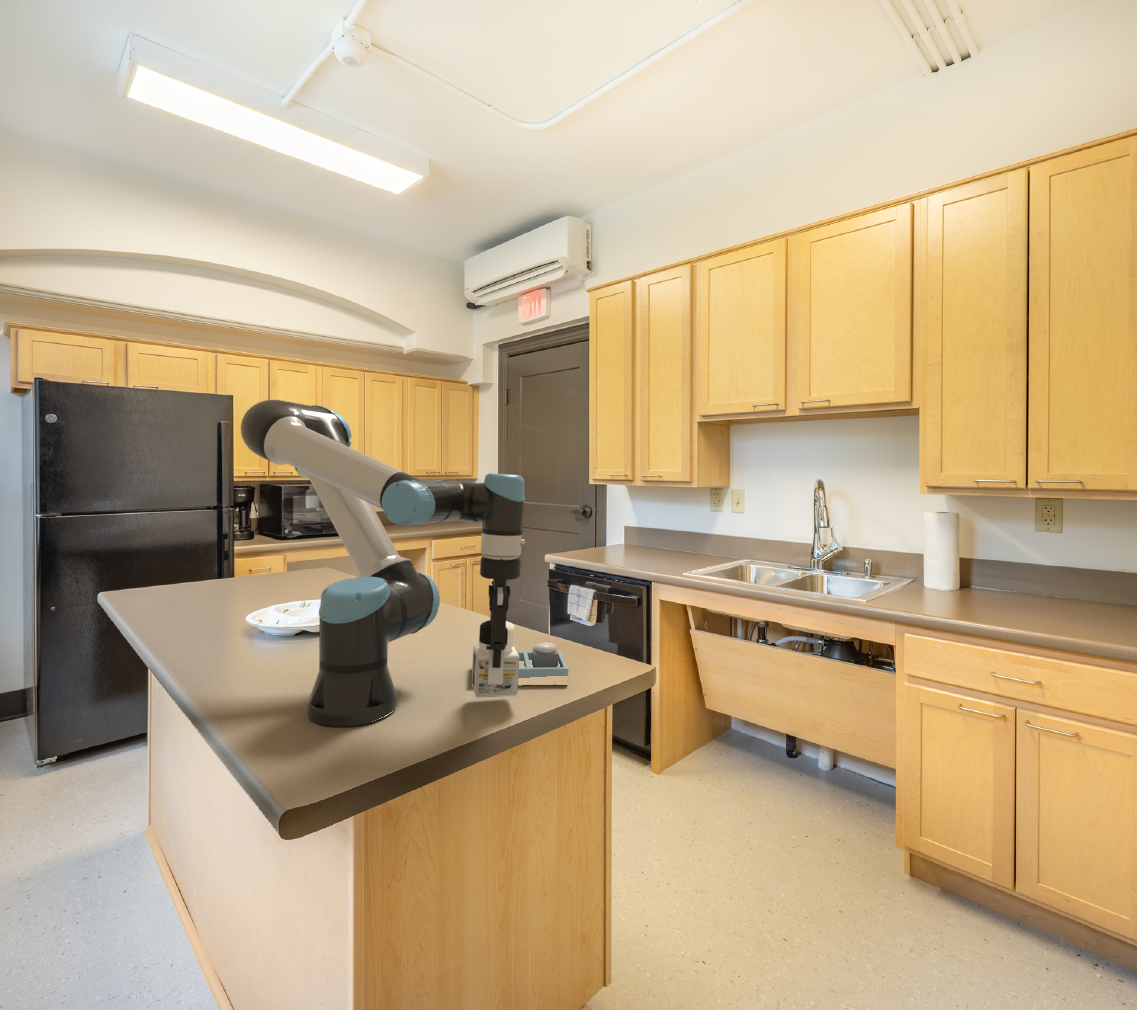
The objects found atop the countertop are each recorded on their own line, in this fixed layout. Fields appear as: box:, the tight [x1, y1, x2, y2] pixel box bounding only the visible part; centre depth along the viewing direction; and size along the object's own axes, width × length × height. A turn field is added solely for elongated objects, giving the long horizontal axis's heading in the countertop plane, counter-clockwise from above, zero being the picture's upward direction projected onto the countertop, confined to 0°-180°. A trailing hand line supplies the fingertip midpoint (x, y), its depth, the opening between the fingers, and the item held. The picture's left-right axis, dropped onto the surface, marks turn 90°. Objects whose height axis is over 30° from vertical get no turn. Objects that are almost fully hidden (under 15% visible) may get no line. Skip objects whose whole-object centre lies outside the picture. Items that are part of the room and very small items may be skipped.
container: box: [471, 619, 519, 698], centre depth 113 cm, size 8×8×13 cm
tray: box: [471, 641, 569, 679], centre depth 129 cm, size 20×12×7 cm, turn 98°
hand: (494, 675), depth 113 cm, fingers closed on container, 8 cm apart
